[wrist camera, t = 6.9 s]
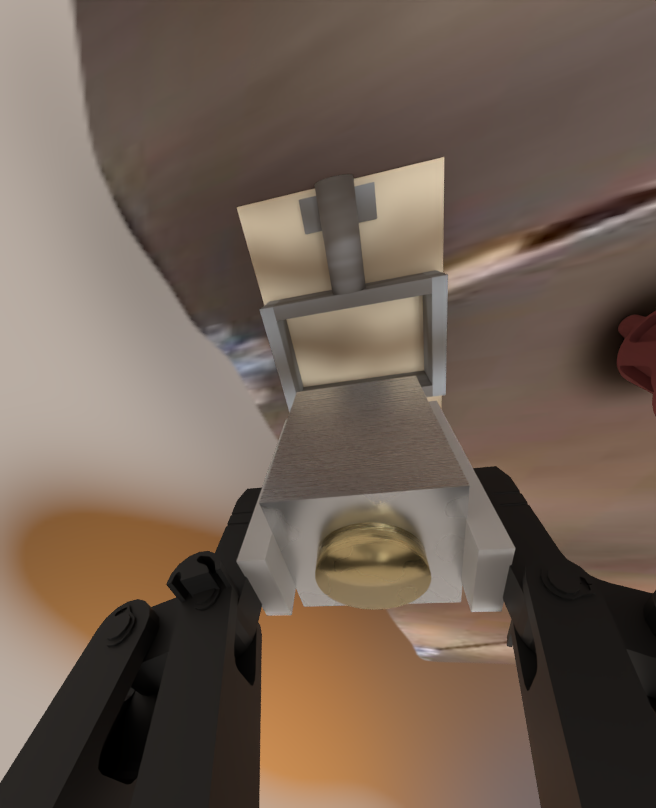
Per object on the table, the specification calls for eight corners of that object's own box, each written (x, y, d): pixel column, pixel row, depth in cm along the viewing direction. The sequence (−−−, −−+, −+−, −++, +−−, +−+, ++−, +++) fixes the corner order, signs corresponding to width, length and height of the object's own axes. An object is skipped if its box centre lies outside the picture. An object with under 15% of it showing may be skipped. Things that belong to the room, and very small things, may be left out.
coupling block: (296, 391, 12) (252, 523, 7) (415, 375, 12) (480, 507, 6) (319, 477, 15) (301, 627, 9) (419, 467, 14) (468, 624, 8)
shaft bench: (242, 208, 21) (207, 199, 16) (439, 161, 19) (472, 133, 14) (307, 443, 32) (298, 483, 27) (437, 429, 30) (456, 469, 25)
